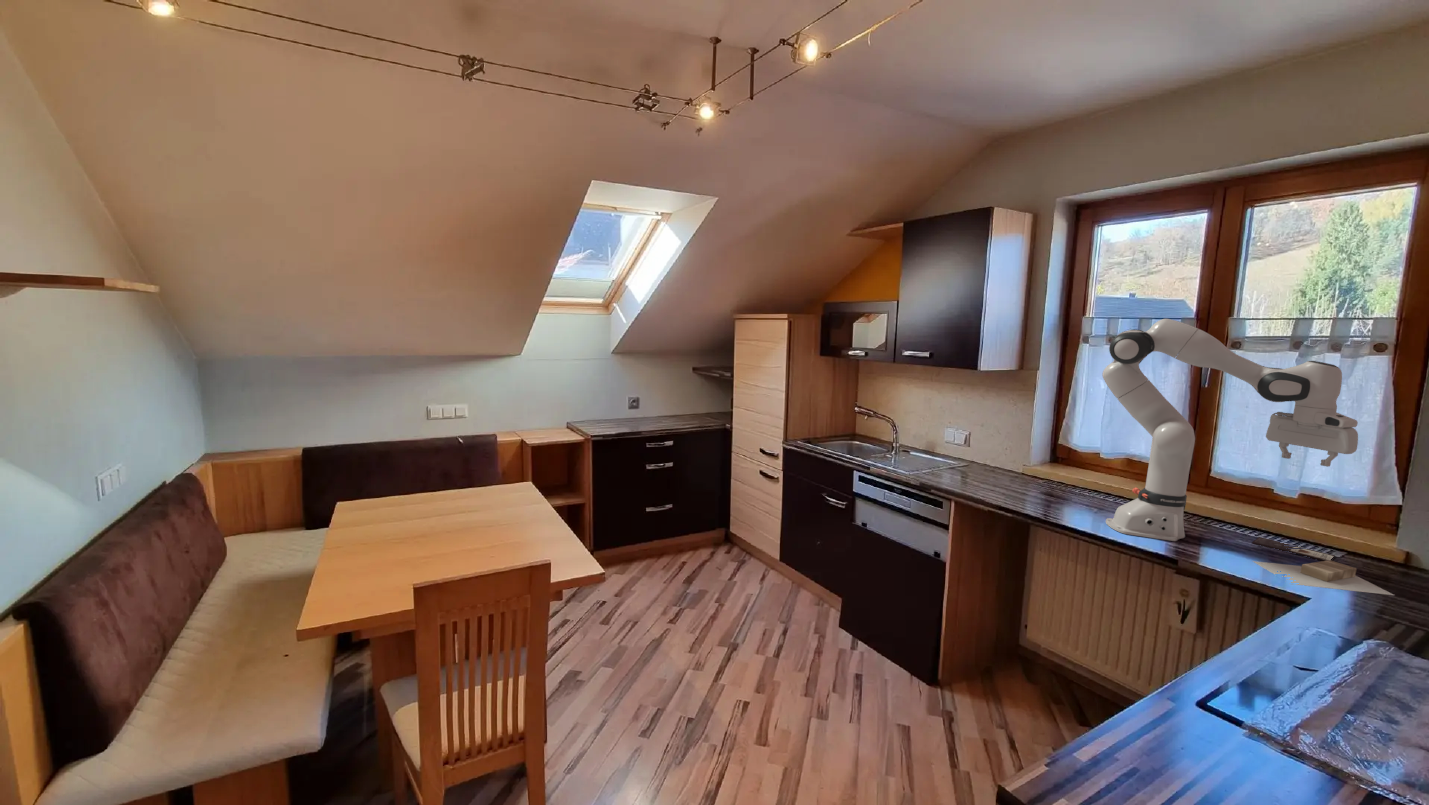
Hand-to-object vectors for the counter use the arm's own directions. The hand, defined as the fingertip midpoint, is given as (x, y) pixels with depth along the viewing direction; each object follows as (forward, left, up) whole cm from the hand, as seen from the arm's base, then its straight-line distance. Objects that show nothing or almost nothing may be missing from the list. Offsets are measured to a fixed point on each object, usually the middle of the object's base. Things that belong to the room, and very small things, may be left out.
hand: (1305, 462), depth 179 cm
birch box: (+9, -7, -29) cm, 32 cm away
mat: (0, -13, -31) cm, 34 cm away
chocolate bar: (+9, +11, -32) cm, 35 cm away
